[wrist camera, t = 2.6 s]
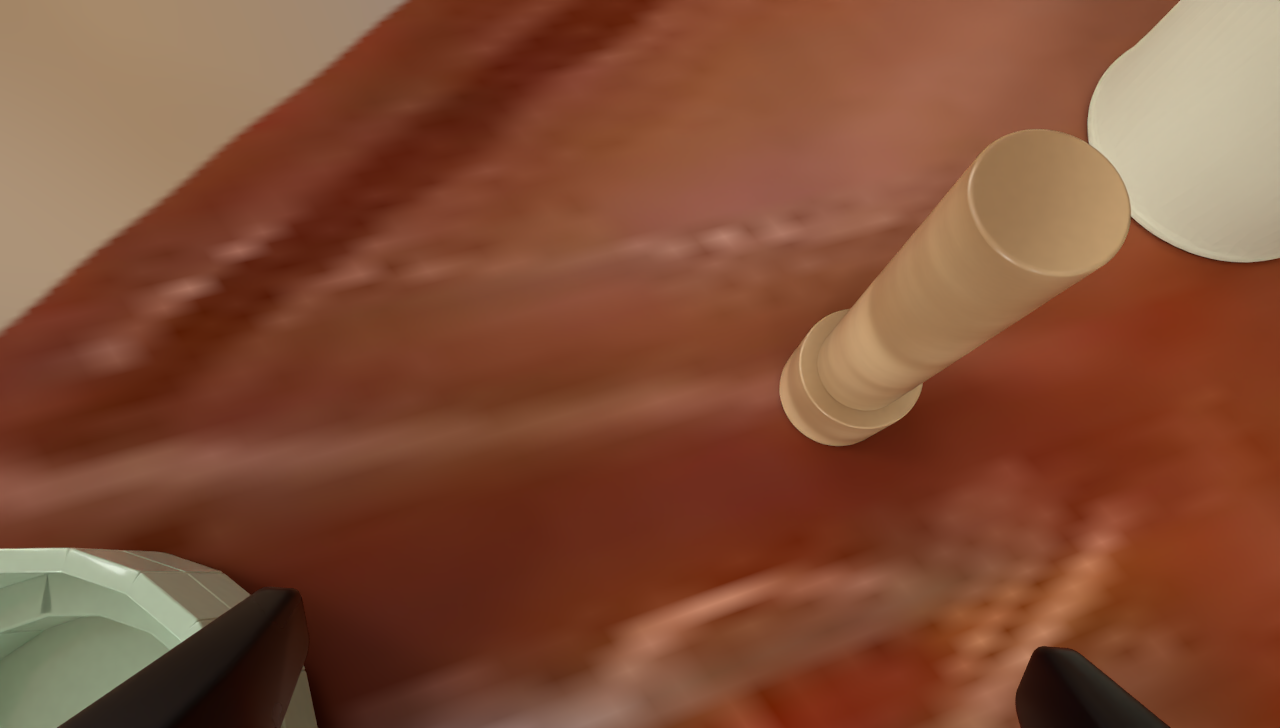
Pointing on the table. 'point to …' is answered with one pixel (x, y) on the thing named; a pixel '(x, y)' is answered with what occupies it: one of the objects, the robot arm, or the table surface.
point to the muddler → (959, 282)
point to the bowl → (101, 626)
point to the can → (1199, 128)
